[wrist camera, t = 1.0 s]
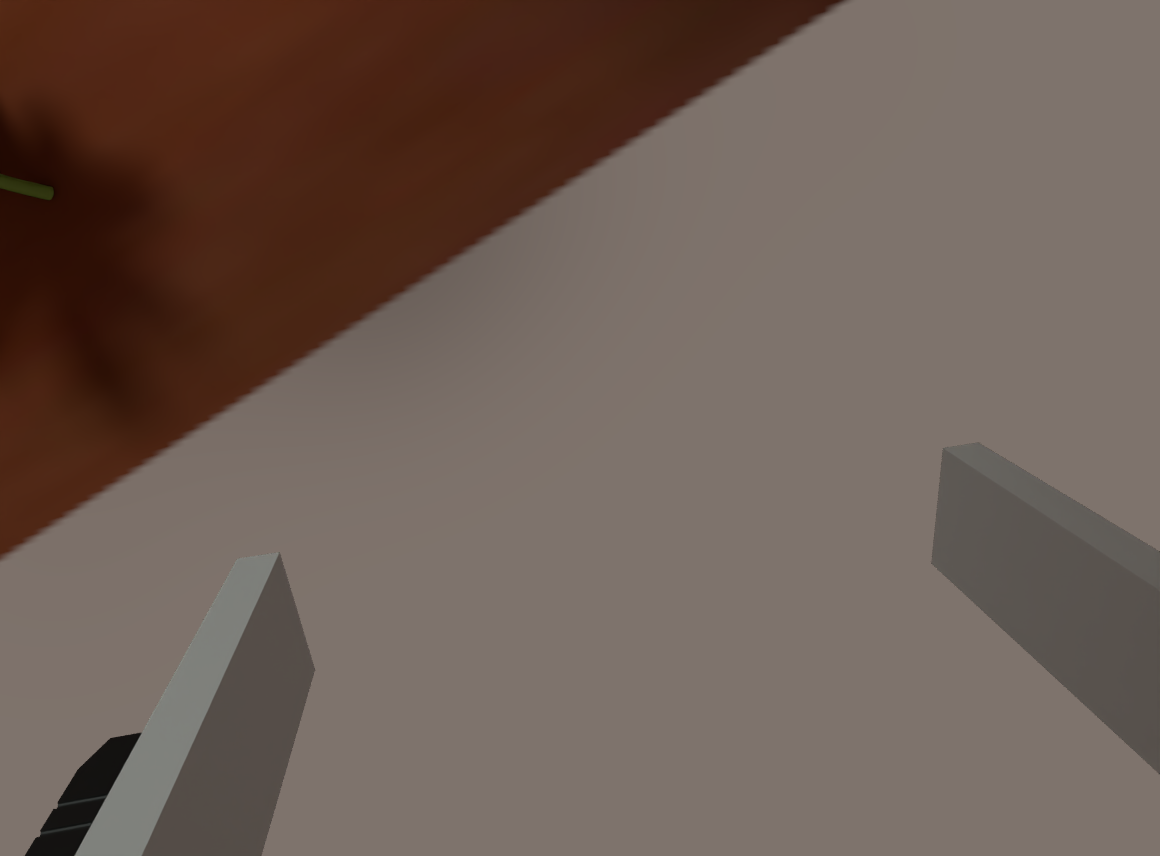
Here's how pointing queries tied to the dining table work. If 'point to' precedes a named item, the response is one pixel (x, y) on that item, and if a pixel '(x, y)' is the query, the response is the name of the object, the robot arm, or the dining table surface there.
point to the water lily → (26, 187)
